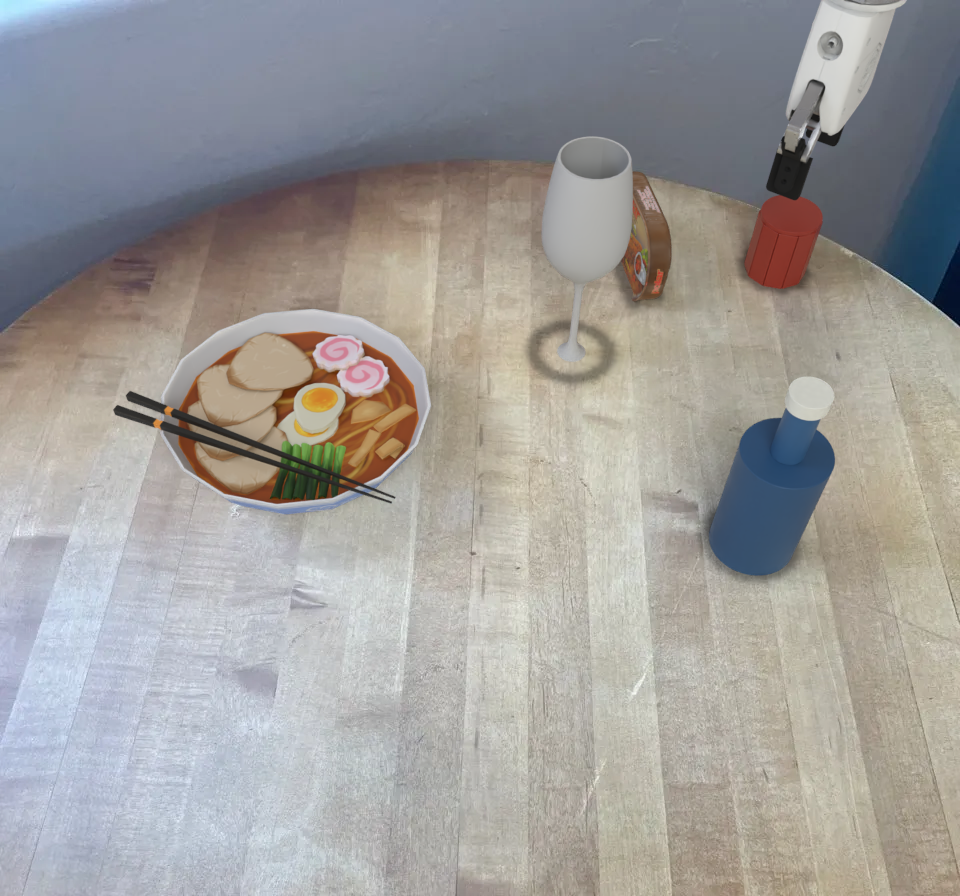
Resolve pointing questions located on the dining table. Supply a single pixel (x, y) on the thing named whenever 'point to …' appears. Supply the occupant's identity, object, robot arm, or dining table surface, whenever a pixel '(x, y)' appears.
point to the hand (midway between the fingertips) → (802, 166)
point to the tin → (647, 243)
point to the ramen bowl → (292, 410)
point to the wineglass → (587, 218)
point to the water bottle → (775, 483)
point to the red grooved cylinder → (783, 241)
